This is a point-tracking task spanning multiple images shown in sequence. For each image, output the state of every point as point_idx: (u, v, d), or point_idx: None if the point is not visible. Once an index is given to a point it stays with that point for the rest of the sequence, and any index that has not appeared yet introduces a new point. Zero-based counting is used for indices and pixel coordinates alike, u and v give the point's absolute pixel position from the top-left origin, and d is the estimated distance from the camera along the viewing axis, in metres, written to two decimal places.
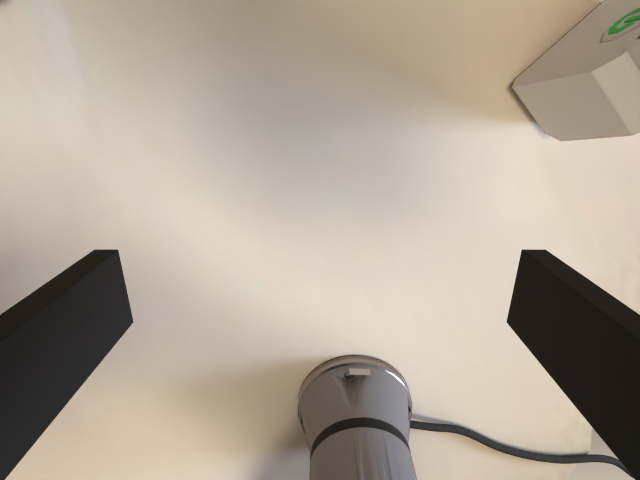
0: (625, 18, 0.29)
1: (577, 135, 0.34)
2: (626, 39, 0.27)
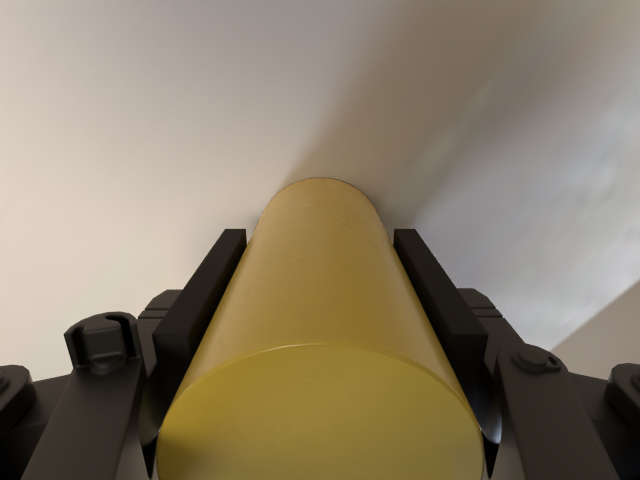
0: None
1: None
2: None
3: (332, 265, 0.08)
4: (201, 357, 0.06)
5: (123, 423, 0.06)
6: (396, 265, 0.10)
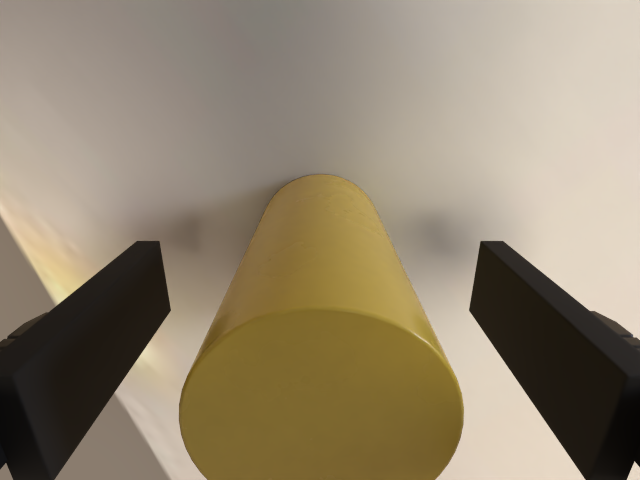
0: None
1: None
2: None
3: (332, 248, 0.09)
4: (218, 325, 0.07)
5: None
6: (390, 251, 0.10)
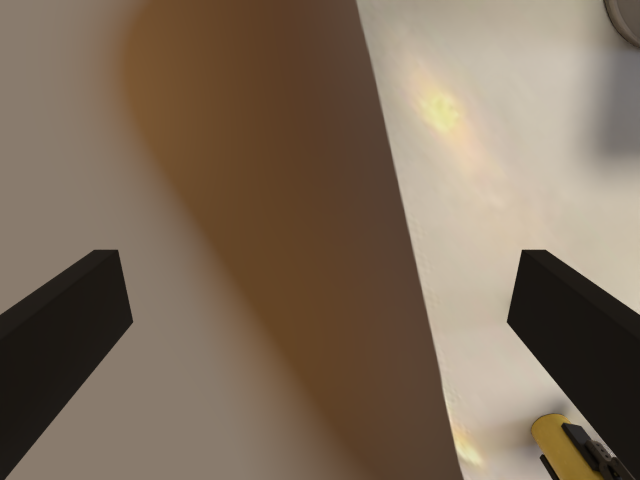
0: None
1: None
2: None
3: None
4: None
5: None
6: None
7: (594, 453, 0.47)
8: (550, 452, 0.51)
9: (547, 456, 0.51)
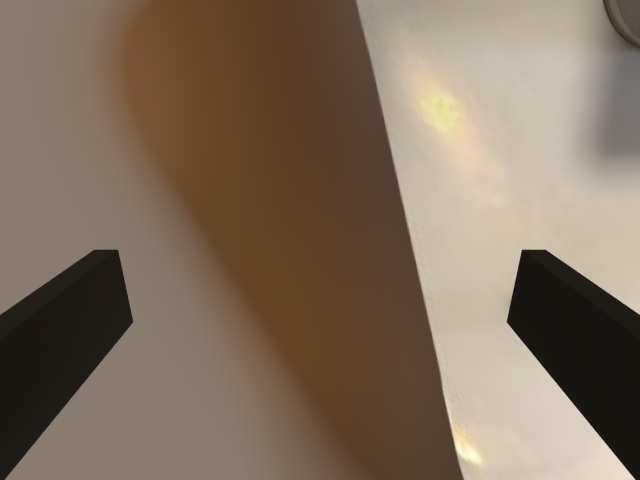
0: None
1: None
2: None
3: None
4: None
5: None
6: None
7: None
8: None
9: None
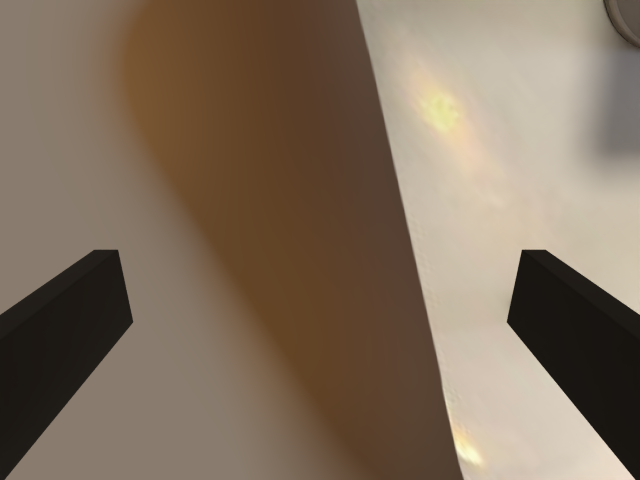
0: None
1: None
2: None
3: None
4: None
5: None
6: None
7: None
8: None
9: None
